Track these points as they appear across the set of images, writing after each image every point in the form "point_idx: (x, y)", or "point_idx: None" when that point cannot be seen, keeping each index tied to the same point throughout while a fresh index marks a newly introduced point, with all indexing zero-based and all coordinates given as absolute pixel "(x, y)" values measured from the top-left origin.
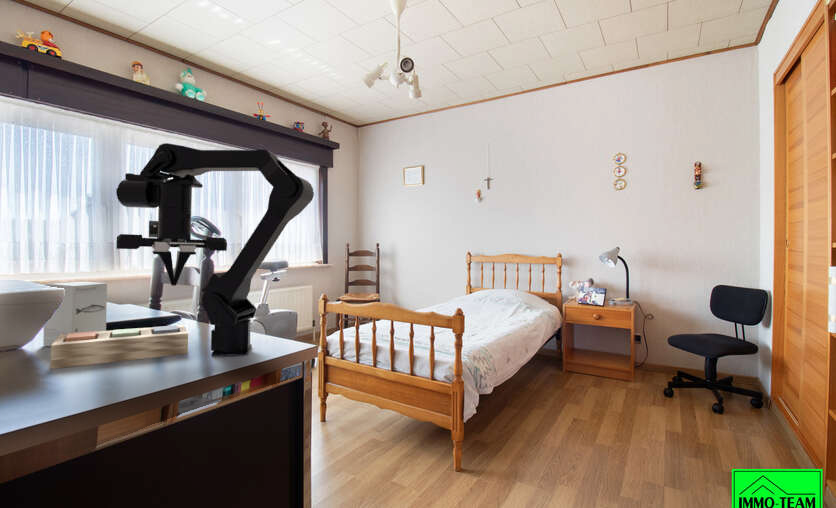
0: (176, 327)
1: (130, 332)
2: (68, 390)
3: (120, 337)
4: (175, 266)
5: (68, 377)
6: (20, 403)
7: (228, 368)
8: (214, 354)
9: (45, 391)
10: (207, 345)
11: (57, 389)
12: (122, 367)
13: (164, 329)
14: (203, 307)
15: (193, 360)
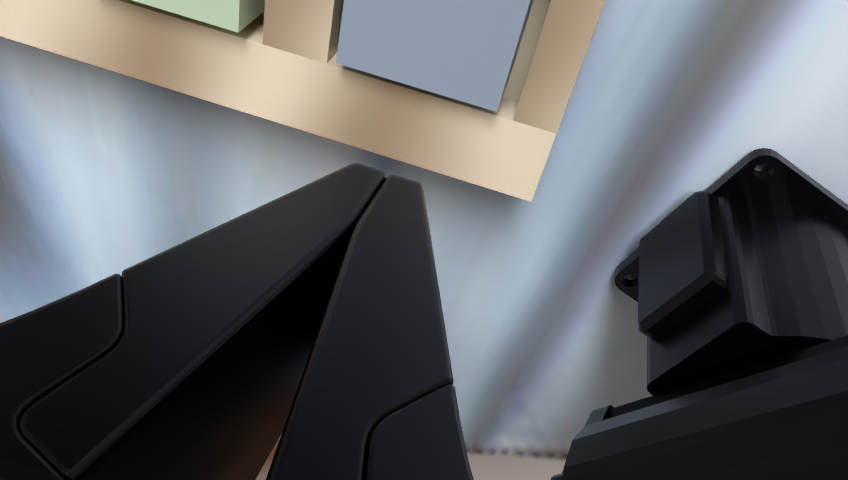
0: (509, 42)
1: (189, 7)
2: (93, 277)
3: (147, 27)
4: (293, 412)
5: (58, 139)
6: (9, 291)
7: (569, 436)
8: (622, 288)
9: (34, 240)
10: (765, 5)
11: (61, 246)
12: (230, 146)
13: (409, 60)
14: (578, 435)
15: (515, 261)
